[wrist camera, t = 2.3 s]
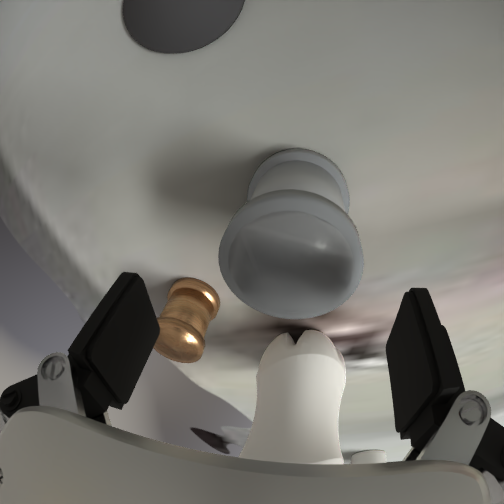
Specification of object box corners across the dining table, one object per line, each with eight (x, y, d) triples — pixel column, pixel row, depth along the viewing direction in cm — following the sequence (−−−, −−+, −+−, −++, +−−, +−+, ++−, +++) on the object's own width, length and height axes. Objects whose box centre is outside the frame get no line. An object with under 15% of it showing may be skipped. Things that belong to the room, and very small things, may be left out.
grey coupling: (351, 151, 15) (374, 204, 10) (343, 240, 19) (351, 322, 13) (247, 148, 16) (209, 198, 11) (253, 235, 20) (226, 313, 14)
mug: (344, 453, 41) (339, 515, 31) (382, 446, 38) (380, 511, 28) (361, 465, 44) (358, 518, 35) (394, 458, 41) (393, 513, 32)
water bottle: (307, 378, 28) (266, 618, 8) (248, 347, 26) (174, 614, 6) (362, 345, 24) (338, 637, 4) (299, 306, 22) (231, 654, 2)
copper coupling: (216, 280, 22) (195, 329, 18) (223, 318, 25) (206, 366, 21) (166, 275, 23) (139, 320, 19) (177, 313, 26) (155, 357, 22)
